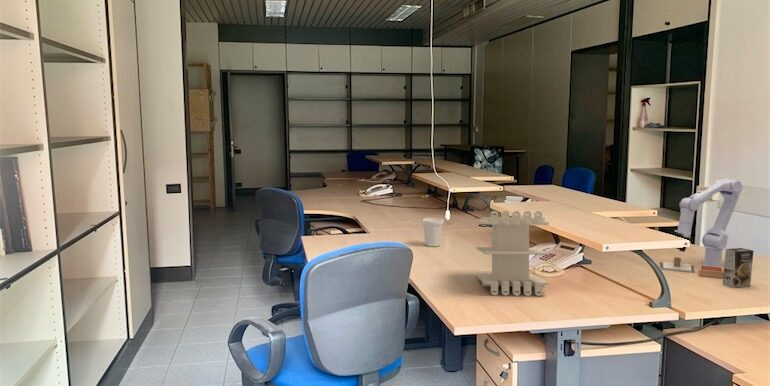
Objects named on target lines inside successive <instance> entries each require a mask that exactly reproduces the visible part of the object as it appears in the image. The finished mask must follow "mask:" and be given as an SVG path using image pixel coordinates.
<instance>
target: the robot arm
mask: <svg viewBox="0 0 770 386" xmlns="http://www.w3.org/2000/svg"><path fill="white" fill-rule="evenodd" d="M743 188H744V187H743V184H742V182H741V181H740V180H739V179H731V178H728V179H727V178H722V177H721V178H719V179H717V180H715V182H714V183H713V184H712V185H711V186H709V187H708V188H706V189H705V190H697V191H696V193H693V194H692V195H690V196H689V197H684V198H682V199H681V200H680V202H679V209H680V210H679V211H680V214H679V221H678V226H677V230H676V229H674V232H675V233H677V234H675V233H674V237H675V236H677V237H681V238H684V239H687V240H689V241H690V242H691V241H692V238H690V235H691V234H692V227H693V223H694V218H695V211H698V210H699V207H700V206H701V205H703V204H705V203H706V202H708V201H709V199H710V197H712V196H713V195H716V194H718V193H720V195H721V196H722V197H723V198H724V200H723V202H722V204H721V207H720V209H719V211H718V214H717V216H716V219H715V221H714V224H713V226H712V228H709V229H708V230H706V232H705V233H704V235H703V236H702V238H701V243H702V245H703V247H704V248H705V250H704V261H702V265H705V266H715V267H723V265H722V257H723V251H724V249H726V247H727V244H728V239H729V236H728V234H727V233H726V230H727V227H728V225H729V223H730V220H731V217H732V216H733V213H734V210H735V208H736V205H737V203H738V200H739V197H740V196H741V195H740V194H741V193H742V190H743ZM686 249H687V247H683V248H676V250H679V252H686Z"/></svg>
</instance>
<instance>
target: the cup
mask: <svg viewBox="0 0 770 386" xmlns="http://www.w3.org/2000/svg"><path fill="white" fill-rule="evenodd" d="M421 221H422V222H421V223H422V224H423V231H424V233H423V234H424V242H425V243H424V244H425V246H426V247H428V248H437V247H440V246H441V237H442V230H443V224H444V221H445V220H444V219H443V218H439V217H427V218H425V217H424V218H423V219H422V220H421Z"/></svg>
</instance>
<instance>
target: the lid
mask: <svg viewBox="0 0 770 386" xmlns="http://www.w3.org/2000/svg"><path fill="white" fill-rule="evenodd" d="M681 260H682V257H676V256H674V257H673V262H670V261H669V262H668V261H663V262H662V263H663V269H668V270H667V271H670V270H678V271H677V272H679V271H687V272H686V273H688V272H691V266H692V265H691V264H690V263H689V264H688V263H681V262H682V261H681Z"/></svg>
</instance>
